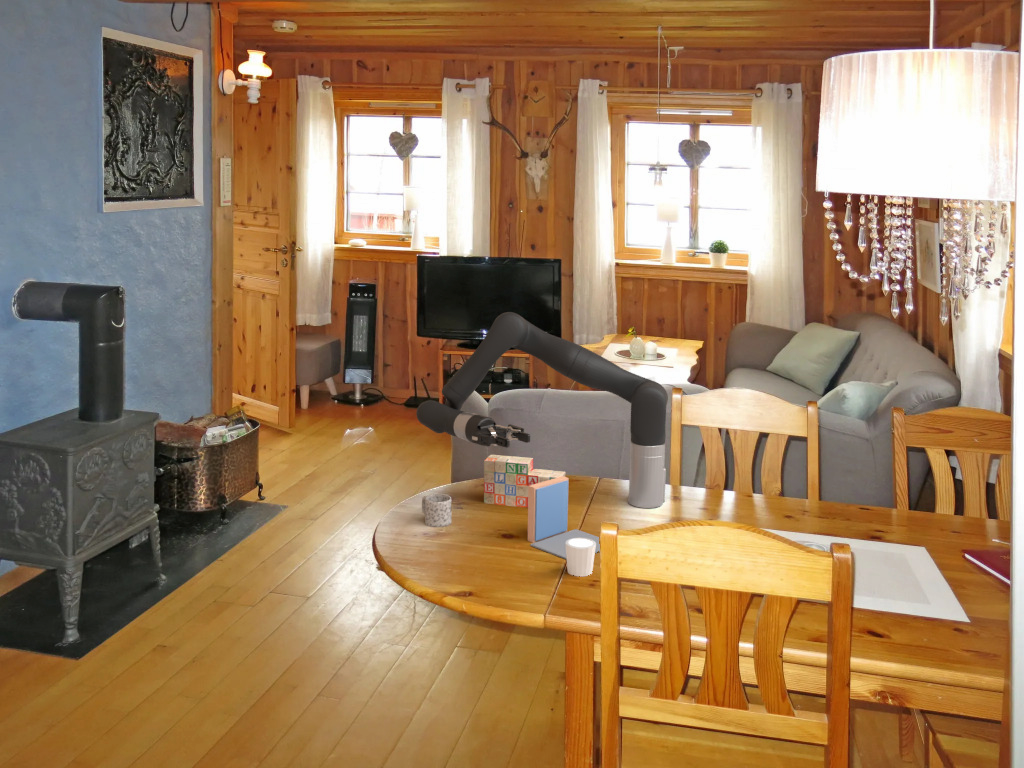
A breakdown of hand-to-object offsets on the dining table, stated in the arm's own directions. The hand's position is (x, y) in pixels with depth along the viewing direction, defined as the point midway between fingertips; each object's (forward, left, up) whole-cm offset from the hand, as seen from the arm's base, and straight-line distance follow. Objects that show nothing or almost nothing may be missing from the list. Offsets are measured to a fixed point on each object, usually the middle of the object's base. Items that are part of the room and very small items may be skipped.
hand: (518, 441), depth 259 cm
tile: (0, +11, -22) cm, 25 cm away
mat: (0, +20, -22) cm, 30 cm away
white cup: (+11, +32, -22) cm, 40 cm away
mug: (+14, -16, -22) cm, 31 cm away
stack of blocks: (-13, -11, -22) cm, 28 cm away
